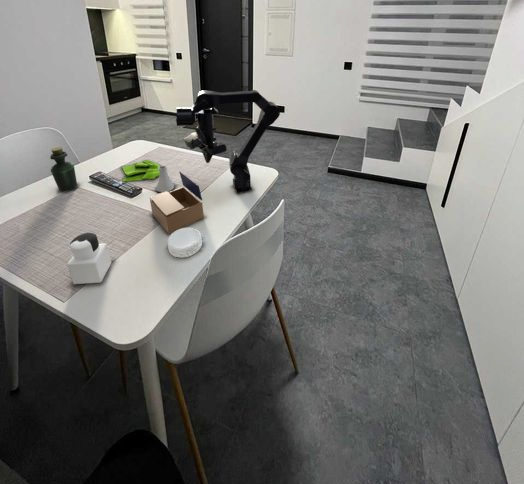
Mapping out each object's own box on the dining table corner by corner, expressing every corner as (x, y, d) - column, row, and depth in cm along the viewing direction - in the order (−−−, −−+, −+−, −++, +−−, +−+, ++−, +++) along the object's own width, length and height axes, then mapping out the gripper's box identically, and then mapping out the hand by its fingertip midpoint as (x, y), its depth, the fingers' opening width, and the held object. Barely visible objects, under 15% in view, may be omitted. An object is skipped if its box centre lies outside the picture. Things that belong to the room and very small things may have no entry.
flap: (183, 185, 108) (184, 184, 108) (201, 200, 98) (202, 200, 99) (179, 171, 105) (180, 170, 105) (197, 185, 96) (198, 185, 96)
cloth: (157, 181, 125) (156, 176, 124) (107, 181, 125) (106, 176, 124) (171, 161, 144) (171, 156, 143) (128, 161, 144) (127, 156, 143)
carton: (185, 200, 111) (183, 184, 108) (203, 217, 101) (202, 200, 98) (152, 214, 103) (149, 197, 100) (168, 234, 93) (165, 215, 91)
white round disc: (185, 263, 82) (183, 254, 80) (161, 250, 87) (160, 241, 85) (208, 242, 89) (207, 233, 88) (186, 231, 94) (184, 222, 93)
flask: (169, 193, 116) (165, 172, 112) (153, 192, 117) (149, 170, 113) (177, 184, 122) (174, 164, 119) (162, 183, 124) (158, 162, 120)
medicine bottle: (86, 264, 82) (75, 230, 77) (112, 262, 82) (103, 228, 78) (73, 285, 75) (60, 249, 70) (101, 283, 76) (90, 247, 71)
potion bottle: (83, 182, 124) (73, 144, 117) (72, 192, 117) (60, 152, 110) (64, 183, 124) (53, 144, 117) (52, 193, 116) (39, 153, 110)
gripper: (174, 123, 108) (178, 160, 114) (199, 136, 95) (202, 177, 101) (200, 117, 115) (202, 153, 121) (226, 129, 102) (227, 168, 108)
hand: (207, 162), depth 113 cm, fingers closed
